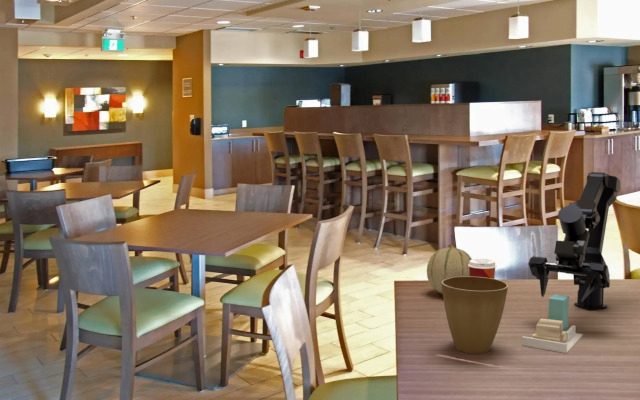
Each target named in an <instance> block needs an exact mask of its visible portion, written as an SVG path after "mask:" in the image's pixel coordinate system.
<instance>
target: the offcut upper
mask: <svg viewBox="0 0 640 400" xmlns="http://www.w3.org/2000/svg"><path fill="white" fill-rule="evenodd" d="M535 328H536V331H535V332H536V336H543V337H551V338H559V337H560V335H561V333H562V330H563V321H559V320H550V319H547V318H540V319H539V320H538V322H537V323H536V327H535Z"/></svg>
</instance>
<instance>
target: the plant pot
mask: <svg viewBox="0 0 640 400" xmlns="http://www.w3.org/2000/svg"><path fill="white" fill-rule="evenodd" d="M508 288H509V285H508V283H507V282H505V281H503V280H499V279H496V278H494V279H492V278H486V277H474V276H462V277H451V278H447V279H444V280H443V281H442V291H443V294H442V299H443V305H444V310H445V314H446V315H445V316H446V319H447V323H448V327H449V331H450V336H451V338H452V341H453V344H454V347H455V349H456V350H458V351H459V352H461V353H462V352H463V353H466V354H472V355H474V354H476V355H477V354H479V355H480V354H484V353H488V352H489V351H490V349H491V348H492V345H493V343H494V340H495V338H496V335H497V332H498V329H499V326H500V325H501V324H500V323H501V320H502V317H503V313H504V308H505V305H506V299H507V294H508Z"/></svg>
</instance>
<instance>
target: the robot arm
mask: <svg viewBox="0 0 640 400" xmlns="http://www.w3.org/2000/svg"><path fill="white" fill-rule="evenodd" d="M585 181H586V183H585V185H584V188H583V189H582V193H581V195H580V196H579V199H578V200H575V201H573V202H570V201H569V203H568V205H566V206H563V207H562V208H561V209H560V210H559V211H558V214H557V215H558V216H557V217H558V220H559V224H560V227H561V231H562V233H563V234H565V235H564V238H563V240H555V246H554V251H553V253H554V254H555V261H556V262H557V263H554V262H552V263H550V262H548V259H547V257H545V256H536V255H533V256H531V257H530V258H529V260H528V264H527V265H528V267H529V270H530V272H531V273H530V274H531V275H532V276H533V277H535V278H536V280H539V287H540V295H541V298H544V296H545V294H546V291H547V286H548V282H549V274H550V272H553V273H564V274H568V275H572V276H573V285H574V286H578V290H577V298H576V299H577V301H576V302H574V303H573V305H575V306H577V307H580V308H583V309H586V310H588V311H593V310H599V309H600V310H601V309H605V308H606V309H607V308H608V305H606V304H604V291H605V290H604V289H609V288H610V286H611V279H610V275H611V274H610V272H609V267H608V264H607V263H606V261H605V259H604V257H603V254H602V253H603V248H604V247H603V246H604V241H605V234H606V229H607V222H608V215H609V211H610V207H611V205H613V204H614V202H616V201H617V198H618V193H620V191H621V180H620V178H618V177H617V176H615V175H610V174H608V173H606V172H601V171H600V172H599V171H598V172H597V171H596V172H595V171H594V172H593V171H592V172H588V173H587V176H586V180H585Z"/></svg>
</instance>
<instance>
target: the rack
mask: <svg viewBox="0 0 640 400" xmlns="http://www.w3.org/2000/svg"><path fill="white" fill-rule="evenodd" d="M576 328H577V326H576V325H571V326H570V327H568V330H567V331H566V343H561V342H555V341H549V340H543V339H537V338H532V336H531V337H530V336H524V335H523V336H522V337H521V346H523V347H528V348H534V349H541V350H546V351H552V352H557V353H563V354H567V352H569V350H571V349H572V347H573V346H574V345H575V344H576V343H577V342H578V340H580V338H582V337H583V335H584V334H583V333H577V332H576V330H577V329H576Z"/></svg>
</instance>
